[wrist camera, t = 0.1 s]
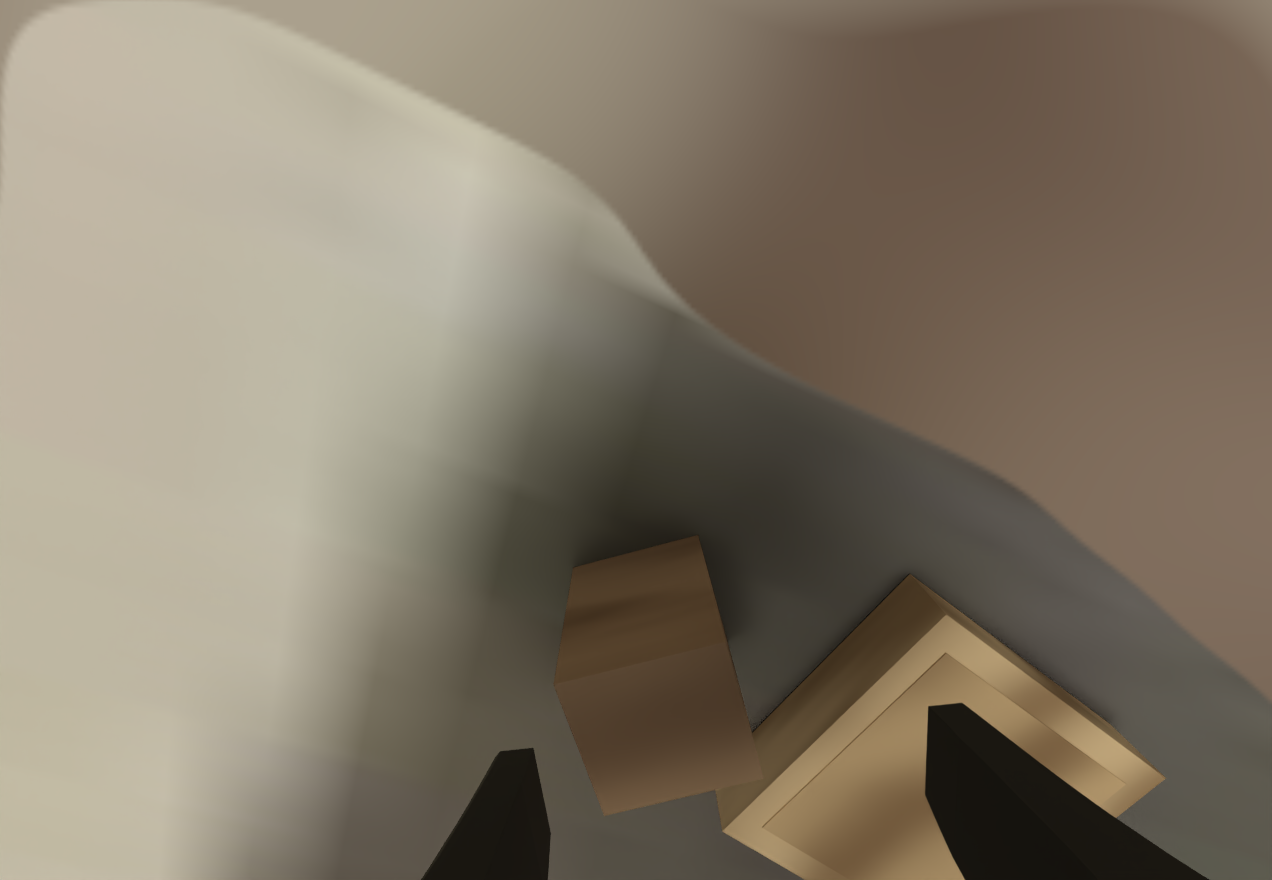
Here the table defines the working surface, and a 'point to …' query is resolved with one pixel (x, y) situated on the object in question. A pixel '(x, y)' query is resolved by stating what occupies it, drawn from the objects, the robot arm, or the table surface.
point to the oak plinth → (907, 745)
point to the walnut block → (652, 680)
